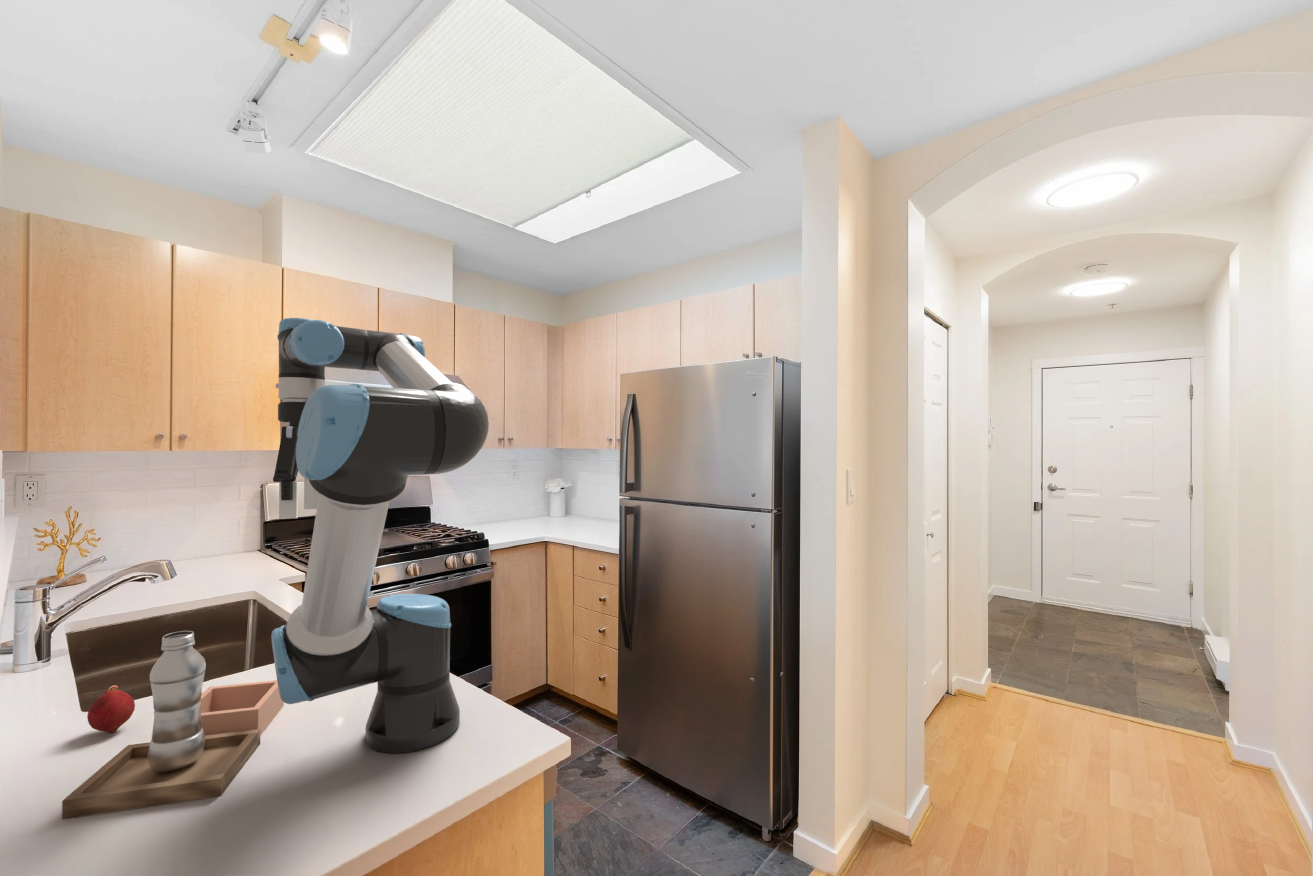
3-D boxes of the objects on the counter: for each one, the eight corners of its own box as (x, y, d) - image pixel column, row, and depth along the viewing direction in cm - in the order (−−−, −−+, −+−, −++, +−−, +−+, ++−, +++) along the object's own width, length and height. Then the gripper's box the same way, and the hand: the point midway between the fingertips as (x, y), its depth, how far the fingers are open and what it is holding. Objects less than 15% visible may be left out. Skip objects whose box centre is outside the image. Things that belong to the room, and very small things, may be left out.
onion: (104, 743, 93) (104, 695, 93) (77, 739, 94) (78, 692, 94) (143, 725, 98) (143, 680, 98) (117, 722, 100) (117, 677, 100)
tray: (260, 744, 93) (260, 729, 93) (220, 796, 79) (220, 778, 79) (128, 760, 88) (128, 745, 88) (62, 819, 74) (62, 800, 74)
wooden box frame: (283, 705, 106) (283, 679, 106) (258, 738, 95) (258, 709, 95) (209, 714, 103) (209, 687, 103) (173, 749, 91) (173, 718, 91)
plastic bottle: (161, 757, 87) (162, 630, 87) (213, 750, 89) (214, 625, 89) (137, 782, 81) (138, 644, 81) (193, 774, 83) (194, 639, 83)
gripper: (301, 404, 117) (300, 505, 117) (251, 396, 93) (250, 523, 93) (341, 405, 119) (340, 504, 119) (302, 398, 95) (301, 522, 95)
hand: (301, 513), depth 106 cm, fingers open, 13 cm apart
